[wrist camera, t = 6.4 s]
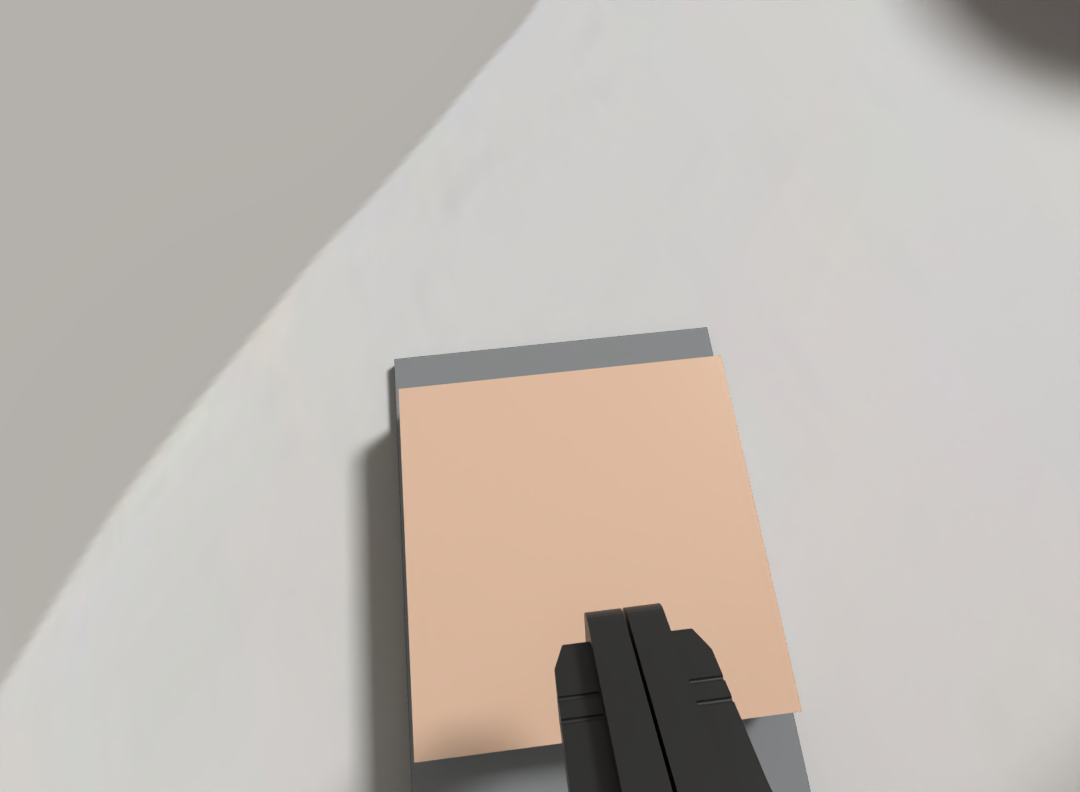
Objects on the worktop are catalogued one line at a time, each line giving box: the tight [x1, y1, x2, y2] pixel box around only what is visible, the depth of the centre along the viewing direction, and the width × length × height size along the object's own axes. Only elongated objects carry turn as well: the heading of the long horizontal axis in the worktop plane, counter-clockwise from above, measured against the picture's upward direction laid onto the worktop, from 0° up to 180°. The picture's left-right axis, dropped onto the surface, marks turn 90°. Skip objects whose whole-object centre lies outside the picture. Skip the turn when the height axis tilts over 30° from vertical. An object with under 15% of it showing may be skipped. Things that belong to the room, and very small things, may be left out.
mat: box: [394, 327, 811, 792], centre depth 19 cm, size 11×15×1 cm
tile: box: [399, 355, 802, 763], centre depth 18 cm, size 10×2×10 cm
